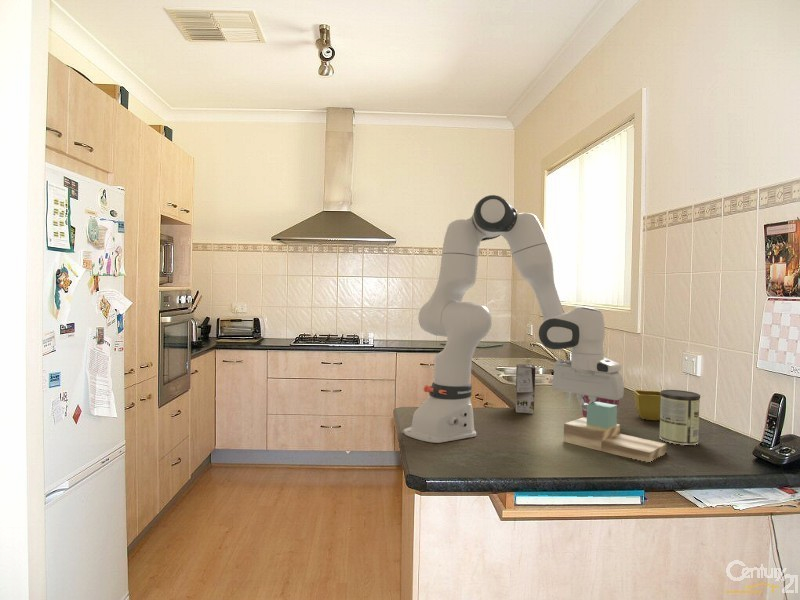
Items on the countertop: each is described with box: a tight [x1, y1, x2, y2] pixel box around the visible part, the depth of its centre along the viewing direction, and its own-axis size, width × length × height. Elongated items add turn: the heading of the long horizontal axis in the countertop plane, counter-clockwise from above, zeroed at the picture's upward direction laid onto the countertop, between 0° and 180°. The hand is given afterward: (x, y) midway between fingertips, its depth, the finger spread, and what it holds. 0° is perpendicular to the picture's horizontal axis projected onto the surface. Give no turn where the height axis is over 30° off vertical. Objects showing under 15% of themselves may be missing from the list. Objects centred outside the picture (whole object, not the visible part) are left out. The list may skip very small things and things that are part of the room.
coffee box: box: [515, 363, 536, 415], centre depth 185 cm, size 9×6×16 cm
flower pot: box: [633, 389, 661, 421], centre depth 178 cm, size 9×9×9 cm
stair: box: [563, 417, 668, 463], centre depth 143 cm, size 12×24×5 cm, turn 44°
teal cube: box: [586, 402, 618, 430], centre depth 146 cm, size 6×6×6 cm
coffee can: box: [658, 389, 701, 446], centre depth 152 cm, size 10×10×14 cm
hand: (585, 410), depth 150 cm, fingers closed
